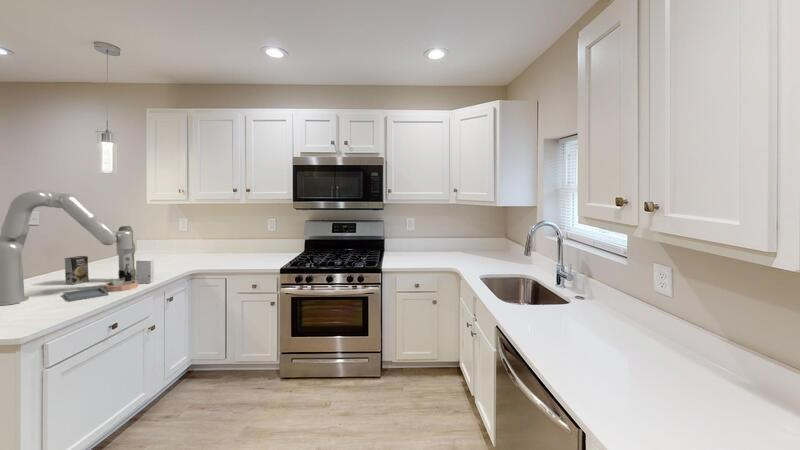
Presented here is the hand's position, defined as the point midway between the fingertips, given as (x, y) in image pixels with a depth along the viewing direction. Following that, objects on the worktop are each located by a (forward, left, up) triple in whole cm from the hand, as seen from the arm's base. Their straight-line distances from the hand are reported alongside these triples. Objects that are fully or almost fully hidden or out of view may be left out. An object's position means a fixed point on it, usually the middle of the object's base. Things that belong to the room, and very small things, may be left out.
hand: (125, 279), depth 216 cm
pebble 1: (-5, -3, -4) cm, 7 cm away
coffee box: (-16, +32, -5) cm, 37 cm away
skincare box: (+12, +5, -5) cm, 14 cm away
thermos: (+6, +18, -5) cm, 20 cm away
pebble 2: (0, 0, -4) cm, 4 cm away
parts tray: (-19, -6, -5) cm, 21 cm away
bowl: (-2, -2, -5) cm, 6 cm away
